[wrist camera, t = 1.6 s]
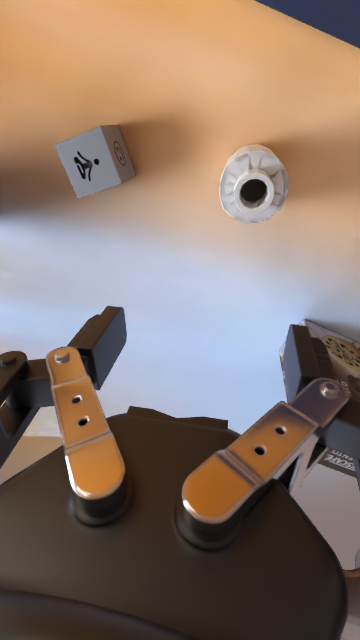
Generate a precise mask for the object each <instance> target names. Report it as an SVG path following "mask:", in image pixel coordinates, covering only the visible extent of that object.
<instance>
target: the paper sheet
mask: <svg viewBox="0 0 360 640" xmlns="http://www.w3.org/2000/svg"><path fill="white" fill-rule="evenodd" d="M255 1H257V2H259V3H262V4H264V5H266V6H268V7H270V8H272V9H275V10H277V11H279V12H281V13H283V14H286V15H288V16H290V17H292V18H294V19H297V20H299V21H301V22H303V23H305V24H308V25H310V26H312V27H314V28H316V29H318V30H321V31H323V32H325V33H327V34H329V35H332V36H334V37H336V38H338V39H340V40H343V41H345V42H347V43H349V44H351V45H354V46H356V47H358V48H360V0H255Z"/></svg>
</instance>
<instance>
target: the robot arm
mask: <svg viewBox="0 0 360 640" xmlns="http://www.w3.org/2000/svg"><path fill="white" fill-rule="evenodd" d="M126 337H127V333H126V323H125V314H124V309H123V308H122V307H114V306H107V307H106V308H105V310H104V311H103V312H102V313H101V315H95V316H93V317H92V318H90V319H88V321H87V322H86V323H85V324H84V326H83V327H82V328H81V329H80V331H79V332H78V333H77V334H76V335H75V337H74V338H73V339H72V340H71V342H70V343H69V344H68V345H67V347H60V348H57V349H55V350H53V351H51V352H50V353H49V354H48V355H47V356H46V359H37V360H28V359H27V356H26V354H25V353H23V352H21V351H11V352H6V353H4V354H1V355H0V406H1V405H2V403H3V402H4V401H5V400H6V402H5V403H4V404H3V406H2V407H1V408H0V468H1V467H2V465H3V464H4V462H5V461H6V459H7V458H8V456H9V455H10V453H11V452H12V450H13V448H14V447H15V446H16V444H17V442H18V441H19V439H20V438H21V436H22V435H23V433H24V432H25V430H26V429H27V427H28V426H29V424H30V422H31V421H32V419H33V418H34V416H35V415H36V413H37V412H38V410H39V409H40V407H47V406H55V410H56V415H57V419H58V424H59V428H60V433H61V437H62V442H63V445H62V446H60V447H59V448H57V449H56V450H54V451H53V452H51V453H49V454H48V455H46V456H45V457H43V458H42V459H40V460H38V461H37V462H35V463H34V464H32V465H30V466H29V467H27V468H25V469H24V470H22V471H21V472H19V473H18V474H16V475H14V476H13V477H11V478H10V479H8V480H7V481H5V482H4V483H2V484H1V485H0V640H340V639H344V640H360V549H359V550H358V552H357V554H356V557H355V569H353V570H344V569H342V567H341V564H340V562H339V560H338V558H337V556H336V554H335V553H334V551H333V550H332V548H331V547H330V545H329V544H328V543H327V541H326V540H325V539H324V537H323V536H322V535H321V534H320V532H319V531H318V530H317V528H316V527H315V526H314V525H313V523H312V522H311V520H310V519H309V518H308V517H307V515H306V514H305V513H304V512H303V510H302V509H301V507H300V506H299V505H298V503H297V502H296V501H295V500H294V499H293V497H294V495H295V494H296V492H297V491H298V489H299V488H300V486H301V484H302V482H303V480H304V479H305V477H306V476H307V475H308V473H309V472H310V471H311V470H312V468H313V467H314V466H315V465H316V464H317V462H318V461H319V460H320V459H321V458H322V456H323V455H324V454H325V453H326V452H327V450H328V449H329V448H331V449H333V450H335V451H338V452H340V453H343V454H345V455H347V456H350V457H352V459H353V463H354V468H355V472H356V477H357V481H358V486H359V490H360V401H359V400H357V399H355V398H353V397H351V396H350V394H349V391H348V390H347V388H346V387H345V386H344V385H342V384H341V383H340V382H338V381H337V378H336V375H335V372H334V368H333V365H332V362H331V361H330V356H329V354H328V350H327V347H326V345H325V344H324V343H323V342H322V341H321V339H320V338H316V337H311V336H310V332H309V328H308V326H304V325H294V324H291V325H290V327H289V331H288V335H287V340H286V344H285V349H284V355H283V367H284V375H285V383H286V391H287V399H288V403H285V402H284V401H280V402H278V403H277V404H276V405H275V406H274V407H273V408H272V409H270V410H269V411H268V412H267V413H266V414H265V415H264V416H262V417H261V418H260V419H259V420H258V421H257V422H256V423H255V424H253V425H252V426H251V427H250V428H249V429H248V430H247V431H245V432H244V433H243V434H242V435H240V434H239V433H237V432H235V431H233V430H231V429H228V428H227V427H228V420H222V419H215V418H208V417H190V418H174V417H172V416H169V415H167V414H164V413H161V412H159V411H156V410H154V409H147V408H141V407H134V406H130V407H129V409H128V411H127V413H124V414H118V415H114V416H111V417H108V418H105V415H104V413H103V410H102V407H101V405H100V402H99V399H98V397H97V394H96V392H95V390H100V388H101V386H102V385H103V383H104V381H105V379H106V377H107V376H108V374H109V372H110V370H111V369H112V367H113V365H114V363H115V361H116V360H117V358H118V356H119V354H120V352H121V351H122V349H123V347H124V345H125V343H126Z"/></svg>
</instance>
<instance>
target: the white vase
mask: <svg viewBox="0 0 360 640" xmlns="http://www.w3.org/2000/svg"><path fill="white" fill-rule="evenodd" d="M288 188H289V178H288V175H287V171H286V168H285V166H284V165H283V164H282V163H281V161H280V160H279V159H278V158H277V157H276V155H275V154H274V153H273V152H272V151H271V150H270V149H269V148H267V147H265V146H262V145H259V144H251V145H246V146H244V147H241V148H240V149H238V150H237V151H235V152H234V153H233V154H232V155H231V157H230V158H229V159H228V161H227V163H226V166H225V168H224V171H223V174H222V176H221V179H220V183H219V198H220V200H221V203H222V206H223V208H224V210H225V211H226V212H227V213H228V214H229V215H230V216H231V217H232V218H233V219H236V220H238V221H240V222H243V223H259V222H262V221H264V220H267V219H269V218H271V217H272V216H273V215H274V214H275V213H276V212H277V211H279V210H280V208H281V207H282V205H283V203H284V201H285V199H286V198H287V195H288Z"/></svg>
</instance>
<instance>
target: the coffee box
mask: <svg viewBox="0 0 360 640" xmlns="http://www.w3.org/2000/svg"><path fill="white" fill-rule="evenodd" d="M299 325H304V326H308V328H309V332H310V336H311V337H316V338H320V339H321V341H322V342H323V343H324V344H325V345H326V347H327V350H328V354H329V356H330V361H331V362H332V365H333V368H334V372H335V375H336V378H337V381H338V382H340V383H341V384H342V385H344V386H345V387H346V388H347V390H348V391H349V394H350V396H351V397H353V398H355V399H357V400H359V401H360V343H358V342H355V341H353V340H351V339H348V338H346V337H344V336H341V335H339V334H337V333H334V332H332V331H330V330H327V329H325V328H323V327H320V326H318V325H316V324H313V323H311V322H309V321H306V320H302V322H301V323H300V324H299ZM285 344H286V342H285ZM285 344H284V345H283V346H282V347H281V349H280V350H279V355H280V360H281V366H282V372H283V378H284V384H285V391H286V383H285V375H284V367H283V355H284V349H285ZM286 397H287V391H286ZM287 403H288V399H287ZM317 463H319V464H321V465H324V466H326V467H329V468H332V469H334V470H337V471H340V472H342V473H345V474H347V475H350V476H353V477H356V472H355V468H354V463H353V459H352V457H350V456H347V455H345V454H343V453H340V452H338V451H335V450H333V449H331V448H329V449H328V450H327V452H326V453H325V454H324V455H323V456H322V458H321V459H320V460H319V461H318V462H317ZM356 478H357V477H356Z"/></svg>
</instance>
